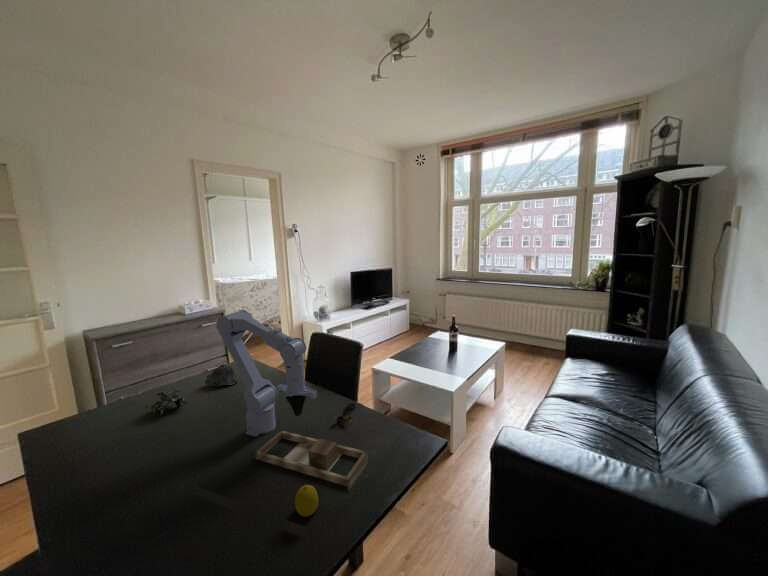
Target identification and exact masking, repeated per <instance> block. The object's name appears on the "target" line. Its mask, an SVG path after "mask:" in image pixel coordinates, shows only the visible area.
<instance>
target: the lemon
mask: <svg viewBox="0 0 768 576" xmlns="http://www.w3.org/2000/svg"><path fill="white" fill-rule="evenodd" d="M294 506H295V510H296V512H297V514H299V515H300V516H301V517H304V518H306V517H307V518H308V517H311V516H312V515H313V514H315V512H316V510H317V508H318V506H319V495H318V492H317V490H316V488H315V487H314V486H313V485H312V484H311V485H310V484H304V485H302V486H301V487H300V488H299V489H298V490H297V491H296V495H295V497H294Z"/></svg>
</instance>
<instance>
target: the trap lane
mask: <svg viewBox="0 0 768 576" xmlns="http://www.w3.org/2000/svg"><path fill="white" fill-rule="evenodd" d="M282 439H283V440H288V441H291V442H295V443H297V444H296V446H295V447H294V448H292V449H291V450H290V451H289V452H288V454H287V455H285V456H284V457H280V456H277V455H274V454H270V453H268V451H270V450H271V449H272V448H273V447H274V446H275V445H277V444H278V443H279V442H280V441H282ZM318 440H319V439H317V438H315V437H310V436H305V435H302V434H297V433H293V432H290V431H285V430H280V431H279V432H277V434H275V435H274V436H273V437H272V438H270V439H269V441H267V442H266V443H265V444H263V446H262V447H260V448H259V449H258V450H257V451H256V452H254V454H255V460H258V461H262V462H264V463H268V464H271V465H275V466H278V467H281V468H285V469H288V470H292V471H295V472H298V473H302V474H304V475H308V476H311V477H314V478H318V479H322V480H324V481H328V482H332V483H335V484H338V485H340V486H344V487H347V489H346V490H345V491H346V492H350V490H351V489H352V488H353V486H354V485H355V482H356V481H357V480H358V478H359V477H360V475H361V473H362V472H363V470H364V468H366V465H367V464H368V460H369V459H368V451H365V450H362V449H358V448H353V447H350V446H346V445H345V446H344V445H343V444H342V445H341V444H338V443H337V454H338V458H337V459H336V460H335V462H334V463H333V464H332V466H331V467H330V468H329V469H328V471H326V470H322V469H319V468H315V467H312V466H309V454H308V450H309V449H310V448H311V447H312V446H313V445H314V444H315V443H316V442H317V441H318ZM343 455H344V456H350V457H352V458H357V459H358V460H357V461H356V462H355V464H354V465H353V466H352V468H351V470H350V471H349V472H348V474H347V475H343V474H339V473H335V472H333V471H331V470H332V468H333V467H334V465H335V464H336V463H337V462H338V461H339V459H340V458H341V456H343Z"/></svg>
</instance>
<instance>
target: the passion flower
mask: <svg viewBox="0 0 768 576" xmlns="http://www.w3.org/2000/svg"><path fill="white" fill-rule="evenodd" d="M171 389H172V390H173V391H174V392H170V391H167V390H161V391H160V393H159V392H155V395H156V396H159V398H160V400H157V401H155V403H154V404H152V405H149V404H146V405H145V409H146V410H147V409H148V407H150V410H151V411H153V410H154V411H153V415H155V414H156V412H157V411H158V408H160V407H161V408H160V409H159V411H160V415H161V416H162V414H163V413H164V412H165V411H166V408H167V407H168V405H169V404H170V403H175V405H176V407H178V406H180V407H181V408H182V407H183V405H185V404H187V403H188V401H186V400H185V398H184V397H183V396H181V395H180V394H177V392H179V393H181V392H182V390H180V389H179V388H178V387H177V388H176V387H171ZM164 402H166V403H165V405H163V403H164ZM180 407H179V408H180Z"/></svg>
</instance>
